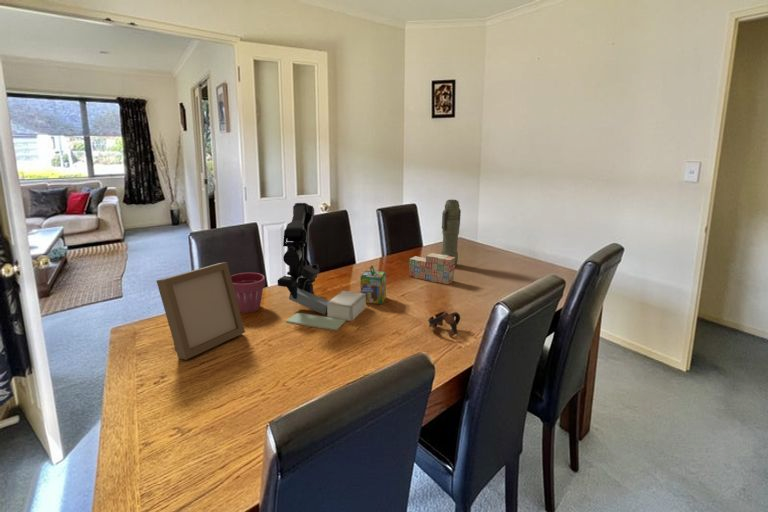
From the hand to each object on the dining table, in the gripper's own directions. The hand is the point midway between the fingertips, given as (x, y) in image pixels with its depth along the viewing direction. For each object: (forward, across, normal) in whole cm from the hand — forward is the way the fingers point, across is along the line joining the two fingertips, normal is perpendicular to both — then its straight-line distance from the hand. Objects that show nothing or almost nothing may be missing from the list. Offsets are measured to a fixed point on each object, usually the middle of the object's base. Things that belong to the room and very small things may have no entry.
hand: (298, 296), depth 164 cm
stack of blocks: (+5, +55, -41) cm, 68 cm away
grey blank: (+3, 0, -5) cm, 5 cm away
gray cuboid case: (+5, +3, -19) cm, 20 cm away
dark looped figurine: (+5, 0, -58) cm, 59 cm away
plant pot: (+5, -7, +19) cm, 20 cm away
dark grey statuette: (+5, +81, -44) cm, 93 cm away
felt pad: (+5, -9, -12) cm, 16 cm away
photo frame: (+5, -36, +15) cm, 39 cm away
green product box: (+5, +19, -24) cm, 31 cm away
